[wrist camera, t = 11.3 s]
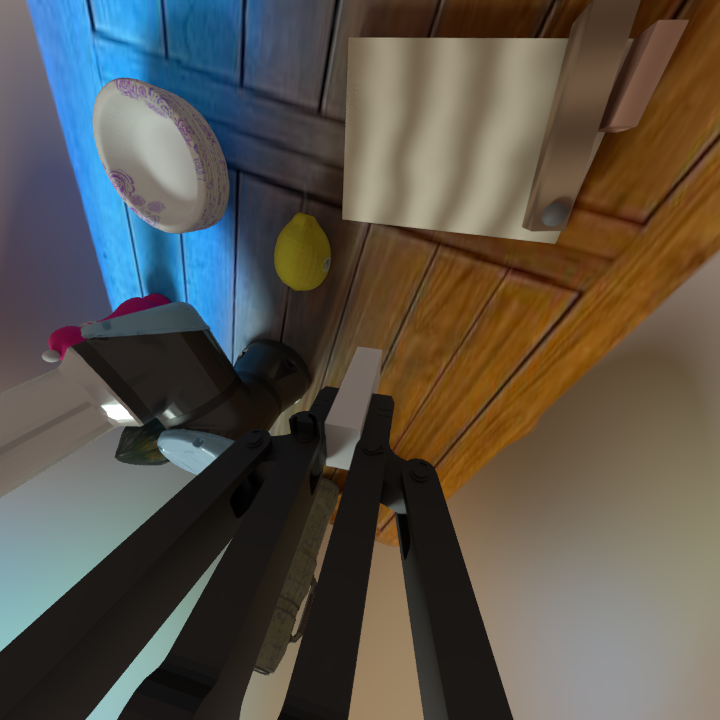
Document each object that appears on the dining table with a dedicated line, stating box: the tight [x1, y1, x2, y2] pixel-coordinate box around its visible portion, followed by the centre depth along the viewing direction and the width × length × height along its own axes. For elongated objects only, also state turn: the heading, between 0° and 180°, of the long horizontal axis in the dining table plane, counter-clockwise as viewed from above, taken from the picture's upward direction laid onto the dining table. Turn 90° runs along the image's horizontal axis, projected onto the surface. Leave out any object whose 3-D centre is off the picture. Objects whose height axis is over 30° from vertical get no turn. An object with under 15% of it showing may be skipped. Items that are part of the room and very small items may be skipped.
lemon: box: [274, 212, 331, 291], centre depth 37 cm, size 11×8×8 cm
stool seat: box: [342, 20, 689, 244], centre depth 28 cm, size 27×16×6 cm, turn 86°
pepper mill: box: [42, 293, 171, 362], centre depth 46 cm, size 7×7×20 cm
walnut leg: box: [522, 0, 641, 232], centre depth 24 cm, size 16×3×5 cm, turn 3°
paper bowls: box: [93, 78, 230, 234], centre depth 35 cm, size 15×15×8 cm
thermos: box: [254, 478, 340, 675], centre depth 61 cm, size 9×12×35 cm
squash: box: [115, 417, 170, 465], centre depth 71 cm, size 14×15×15 cm
